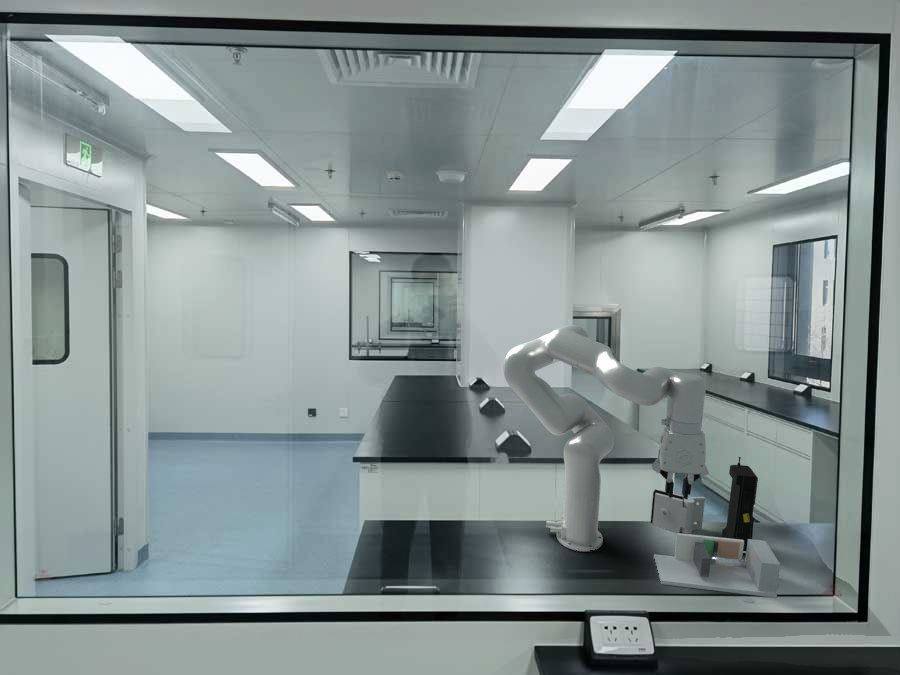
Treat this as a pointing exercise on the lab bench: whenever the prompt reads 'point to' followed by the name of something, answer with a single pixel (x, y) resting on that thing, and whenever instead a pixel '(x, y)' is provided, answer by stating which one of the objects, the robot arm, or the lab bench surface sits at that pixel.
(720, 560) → the plunger
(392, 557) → the lab bench surface
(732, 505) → the portable radio
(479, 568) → the lab bench surface
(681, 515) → the hinge
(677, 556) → the stand
